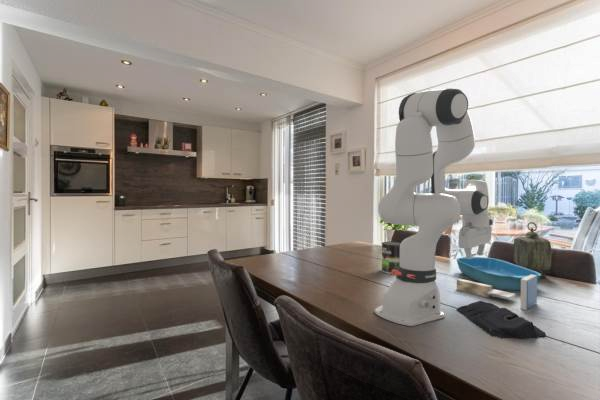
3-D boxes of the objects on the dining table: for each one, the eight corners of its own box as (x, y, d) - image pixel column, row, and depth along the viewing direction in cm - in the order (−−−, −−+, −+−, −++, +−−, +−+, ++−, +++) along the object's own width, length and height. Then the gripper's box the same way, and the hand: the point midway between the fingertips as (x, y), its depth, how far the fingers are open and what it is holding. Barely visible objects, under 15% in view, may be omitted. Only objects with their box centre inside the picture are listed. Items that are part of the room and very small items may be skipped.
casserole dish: (554, 293, 119) (554, 275, 119) (499, 295, 118) (499, 276, 118) (490, 269, 156) (490, 255, 156) (447, 270, 155) (447, 256, 155)
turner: (454, 290, 123) (454, 280, 123) (461, 287, 127) (461, 278, 127) (509, 304, 108) (509, 292, 108) (515, 300, 112) (515, 289, 112)
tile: (537, 303, 108) (537, 275, 108) (527, 310, 102) (527, 280, 102) (530, 302, 110) (530, 274, 109) (520, 308, 104) (520, 279, 103)
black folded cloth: (496, 309, 104) (496, 295, 104) (551, 340, 82) (552, 323, 82) (452, 310, 104) (452, 296, 104) (496, 341, 82) (496, 324, 82)
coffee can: (391, 275, 146) (391, 245, 145) (377, 270, 155) (377, 242, 155) (407, 272, 150) (408, 244, 150) (393, 268, 159) (393, 241, 159)
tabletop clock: (551, 279, 138) (552, 223, 137) (528, 278, 139) (529, 223, 138) (532, 271, 152) (532, 220, 151) (511, 270, 153) (512, 220, 153)
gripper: (471, 224, 111) (471, 262, 111) (494, 220, 123) (494, 254, 124) (453, 223, 116) (453, 259, 116) (478, 219, 128) (477, 251, 129)
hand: (474, 256), depth 120 cm, fingers open, 8 cm apart
